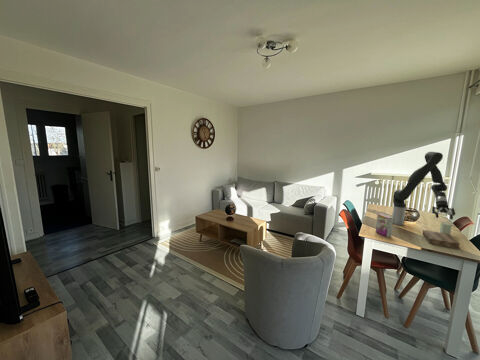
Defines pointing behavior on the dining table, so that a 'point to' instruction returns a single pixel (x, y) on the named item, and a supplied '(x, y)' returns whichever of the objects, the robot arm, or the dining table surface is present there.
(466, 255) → the dining table surface
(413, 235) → the dining table surface
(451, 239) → the walnut plinth
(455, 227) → the dining table surface
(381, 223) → the candy bar box
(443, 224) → the sage-green block
